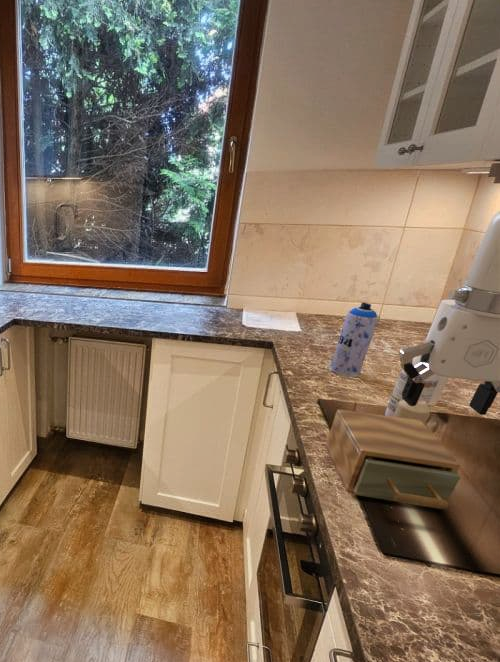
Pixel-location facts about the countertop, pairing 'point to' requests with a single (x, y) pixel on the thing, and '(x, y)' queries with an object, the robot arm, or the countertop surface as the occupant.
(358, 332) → the aerosol can
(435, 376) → the bath foam
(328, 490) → the countertop surface
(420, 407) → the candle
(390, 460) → the drawer
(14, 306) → the countertop surface
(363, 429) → the cabinet
